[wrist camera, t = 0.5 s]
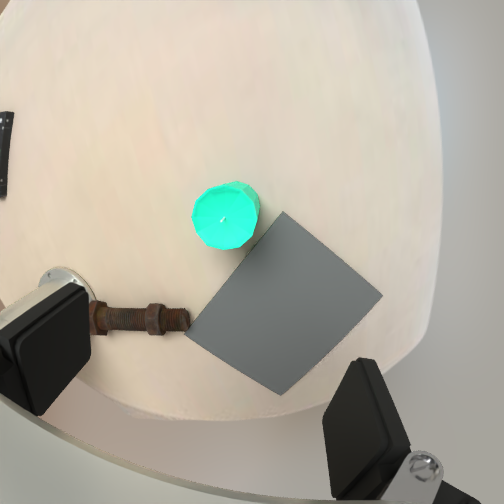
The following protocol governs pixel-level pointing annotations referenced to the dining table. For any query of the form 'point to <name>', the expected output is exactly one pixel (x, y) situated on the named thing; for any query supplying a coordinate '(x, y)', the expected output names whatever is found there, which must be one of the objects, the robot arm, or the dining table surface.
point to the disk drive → (5, 148)
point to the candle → (226, 215)
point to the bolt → (136, 319)
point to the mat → (283, 307)
